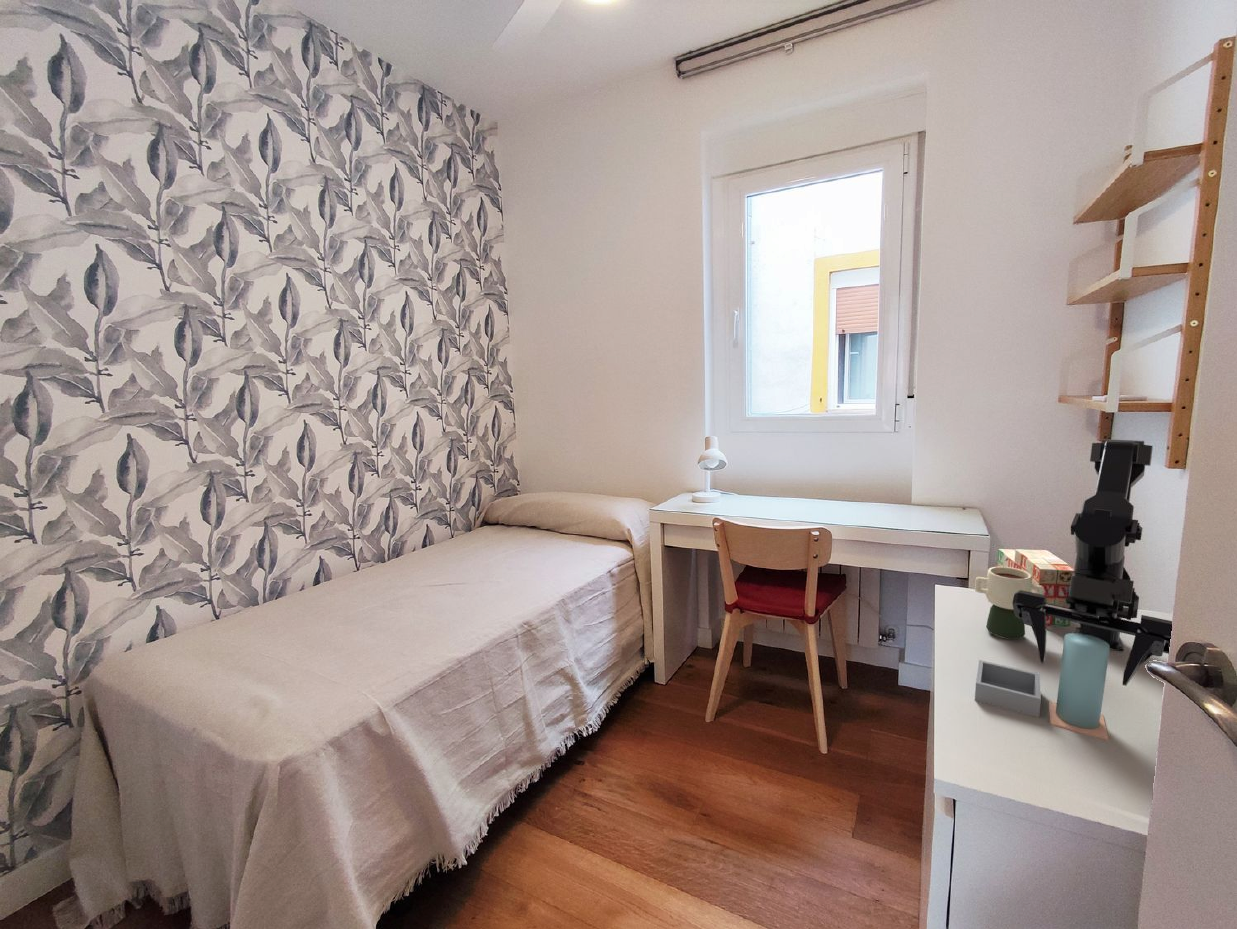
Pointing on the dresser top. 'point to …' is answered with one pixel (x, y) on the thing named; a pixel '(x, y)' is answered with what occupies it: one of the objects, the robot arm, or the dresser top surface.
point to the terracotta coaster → (1058, 722)
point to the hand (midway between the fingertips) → (1081, 672)
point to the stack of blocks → (1042, 575)
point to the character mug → (1005, 599)
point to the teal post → (1082, 680)
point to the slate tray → (1008, 688)
